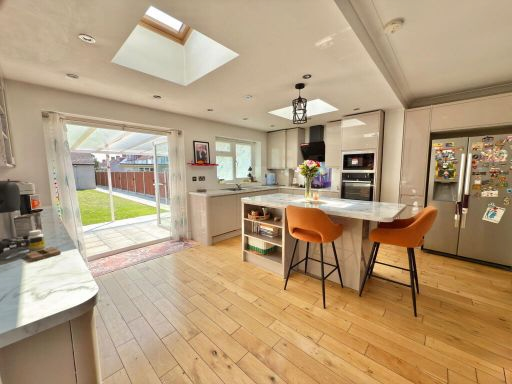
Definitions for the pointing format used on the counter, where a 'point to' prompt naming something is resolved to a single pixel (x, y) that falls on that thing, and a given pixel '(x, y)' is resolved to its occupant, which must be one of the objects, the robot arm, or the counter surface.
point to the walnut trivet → (38, 254)
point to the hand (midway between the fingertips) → (38, 237)
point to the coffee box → (27, 225)
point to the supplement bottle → (36, 245)
